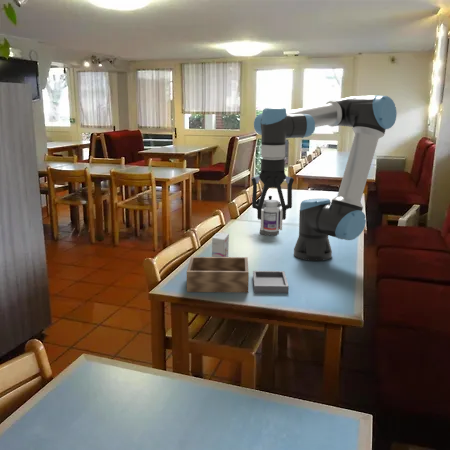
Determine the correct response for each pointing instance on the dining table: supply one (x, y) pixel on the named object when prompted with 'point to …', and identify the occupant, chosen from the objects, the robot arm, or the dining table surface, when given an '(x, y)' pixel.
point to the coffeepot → (263, 208)
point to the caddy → (218, 274)
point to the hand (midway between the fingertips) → (271, 228)
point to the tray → (270, 282)
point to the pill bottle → (271, 216)
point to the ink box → (220, 245)
